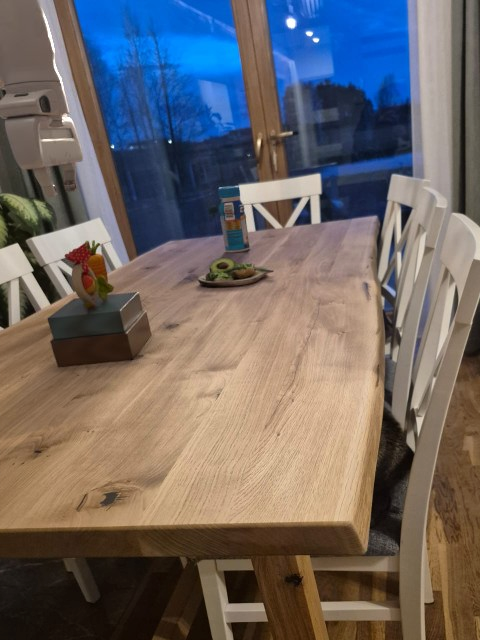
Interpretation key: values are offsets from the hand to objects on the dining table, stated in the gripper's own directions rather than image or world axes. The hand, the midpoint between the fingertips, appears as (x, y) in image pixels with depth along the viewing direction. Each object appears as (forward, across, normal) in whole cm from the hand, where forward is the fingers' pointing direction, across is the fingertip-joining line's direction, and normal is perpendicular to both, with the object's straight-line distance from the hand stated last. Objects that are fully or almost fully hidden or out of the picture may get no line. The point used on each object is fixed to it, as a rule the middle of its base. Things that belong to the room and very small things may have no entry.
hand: (62, 194), depth 100 cm
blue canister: (+29, -89, +17) cm, 95 cm away
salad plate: (+29, -47, +20) cm, 59 cm away
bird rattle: (+20, +1, +1) cm, 20 cm away
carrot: (+29, -40, -13) cm, 51 cm away
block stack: (+28, +2, +2) cm, 28 cm away
